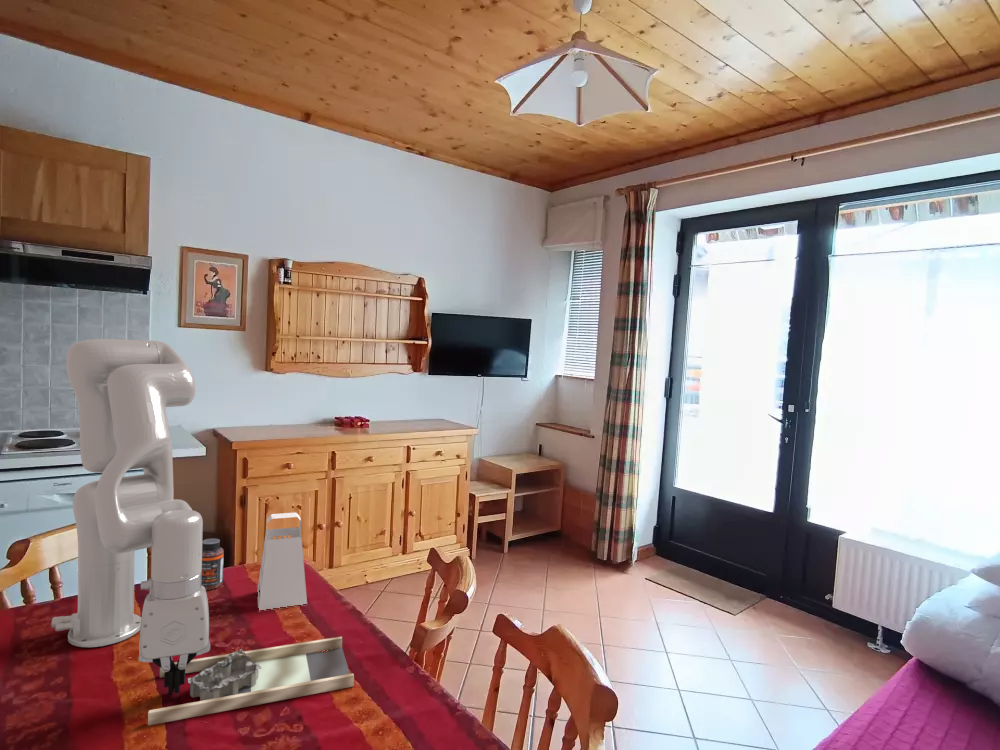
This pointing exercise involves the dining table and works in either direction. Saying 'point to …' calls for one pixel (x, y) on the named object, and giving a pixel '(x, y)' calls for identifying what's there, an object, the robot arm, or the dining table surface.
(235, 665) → the egg carton
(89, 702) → the dining table surface
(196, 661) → the channel
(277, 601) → the grater
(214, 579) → the supplement bottle
